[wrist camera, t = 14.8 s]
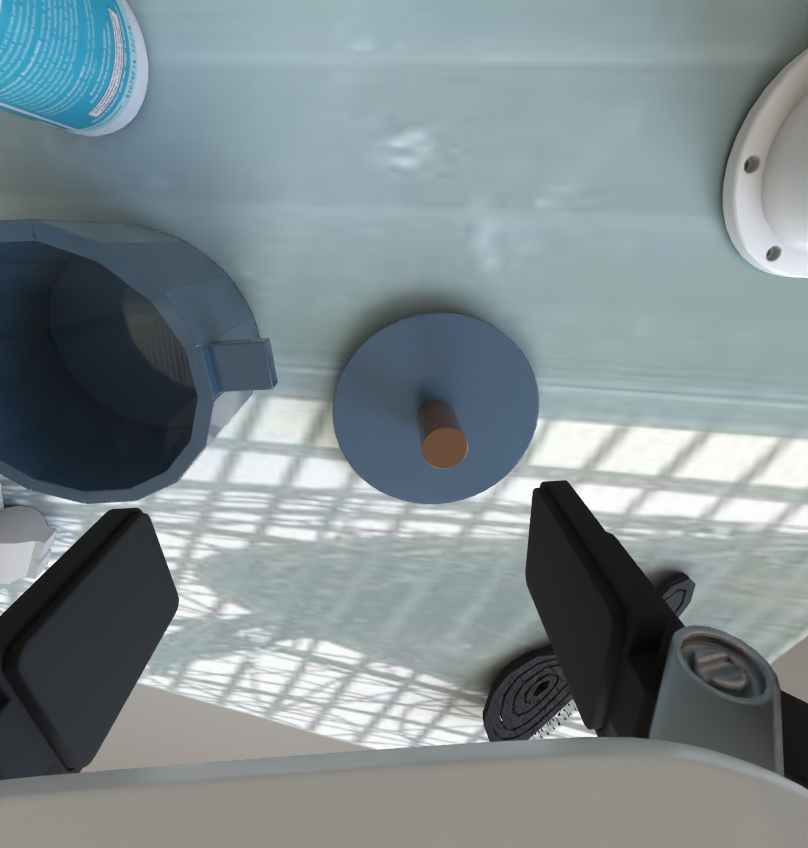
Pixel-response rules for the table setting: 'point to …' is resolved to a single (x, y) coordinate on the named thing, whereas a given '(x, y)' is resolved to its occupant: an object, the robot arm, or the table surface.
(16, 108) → the pill bottle
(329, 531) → the table surface
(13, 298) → the canister
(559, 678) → the hairbrush
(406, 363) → the lid
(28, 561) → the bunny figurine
